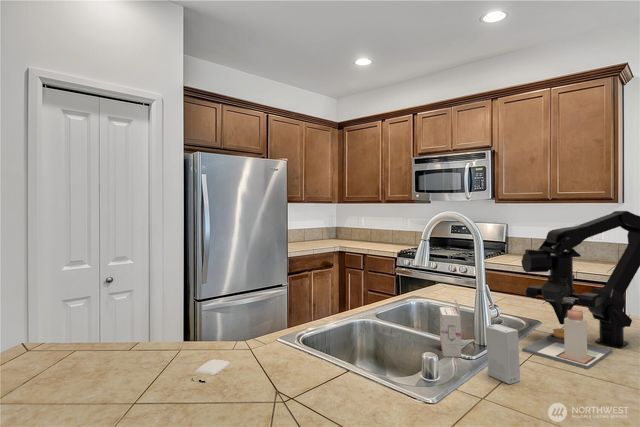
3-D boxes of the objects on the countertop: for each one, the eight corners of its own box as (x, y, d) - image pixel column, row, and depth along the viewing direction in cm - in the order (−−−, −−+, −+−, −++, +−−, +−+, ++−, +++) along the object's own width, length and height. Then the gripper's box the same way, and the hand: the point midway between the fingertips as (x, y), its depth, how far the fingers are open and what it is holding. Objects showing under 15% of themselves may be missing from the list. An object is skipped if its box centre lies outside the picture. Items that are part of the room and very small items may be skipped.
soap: (211, 367, 101) (211, 356, 101) (233, 370, 99) (233, 359, 99) (189, 382, 92) (189, 370, 92) (213, 385, 90) (213, 373, 90)
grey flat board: (550, 337, 118) (550, 331, 118) (612, 352, 105) (612, 345, 105) (522, 350, 108) (522, 343, 108) (587, 369, 95) (587, 361, 95)
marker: (573, 353, 103) (572, 309, 103) (587, 357, 99) (586, 312, 99) (564, 355, 101) (564, 310, 101) (578, 360, 98) (577, 314, 98)
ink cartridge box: (439, 345, 113) (438, 296, 113) (456, 346, 112) (456, 297, 112) (442, 356, 104) (442, 303, 104) (461, 357, 103) (461, 304, 103)
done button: (557, 332, 116) (557, 327, 116) (573, 336, 112) (573, 331, 112) (550, 335, 113) (550, 330, 113) (567, 339, 110) (567, 334, 110)
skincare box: (521, 381, 89) (520, 329, 89) (508, 385, 87) (507, 332, 87) (498, 371, 94) (497, 323, 94) (485, 375, 93) (485, 325, 92)
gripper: (516, 271, 116) (517, 322, 116) (587, 279, 100) (588, 338, 101) (533, 267, 122) (534, 315, 122) (602, 274, 107) (603, 329, 107)
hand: (562, 324), depth 113 cm, fingers closed
